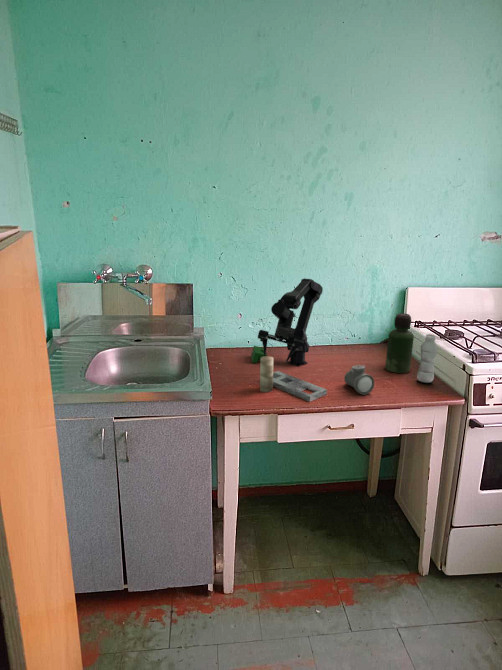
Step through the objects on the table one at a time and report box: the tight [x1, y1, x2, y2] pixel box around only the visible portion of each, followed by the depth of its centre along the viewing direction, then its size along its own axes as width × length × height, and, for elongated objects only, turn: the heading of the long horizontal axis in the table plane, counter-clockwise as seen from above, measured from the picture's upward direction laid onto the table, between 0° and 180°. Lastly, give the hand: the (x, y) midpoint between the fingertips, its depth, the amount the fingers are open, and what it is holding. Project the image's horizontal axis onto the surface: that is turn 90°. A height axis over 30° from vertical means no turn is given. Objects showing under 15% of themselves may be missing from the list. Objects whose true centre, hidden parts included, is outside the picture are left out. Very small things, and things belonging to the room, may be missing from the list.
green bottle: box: [384, 312, 415, 374], centre depth 206 cm, size 10×10×25 cm
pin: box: [259, 355, 274, 393], centre depth 184 cm, size 5×5×13 cm
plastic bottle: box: [416, 333, 438, 384], centre depth 194 cm, size 6×7×20 cm
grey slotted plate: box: [273, 370, 328, 402], centre depth 188 cm, size 10×26×2 cm, turn 43°
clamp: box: [250, 345, 268, 364], centre depth 218 cm, size 11×6×8 cm, turn 177°
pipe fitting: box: [343, 364, 375, 396], centre depth 187 cm, size 12×8×10 cm
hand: (275, 359), depth 192 cm, fingers open, 9 cm apart
